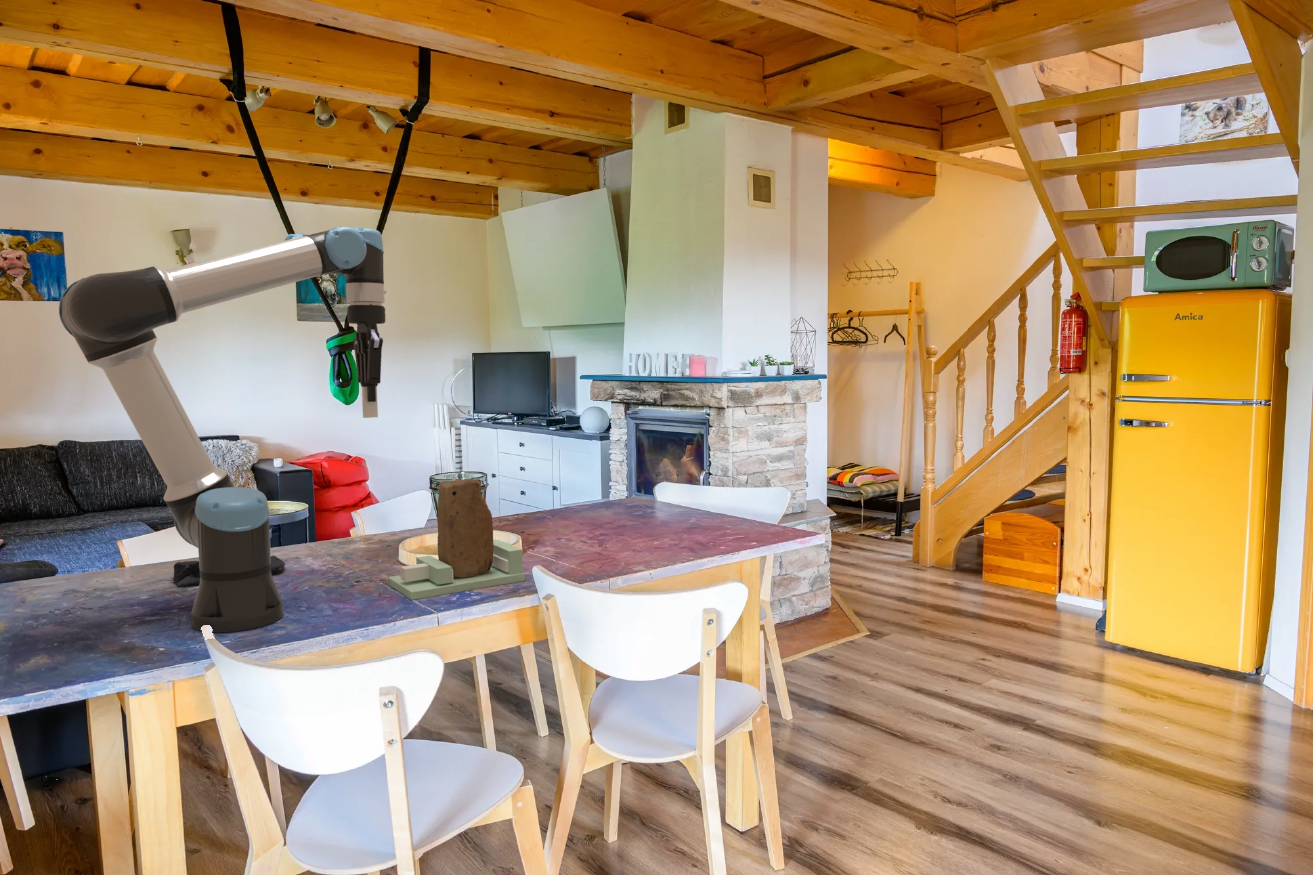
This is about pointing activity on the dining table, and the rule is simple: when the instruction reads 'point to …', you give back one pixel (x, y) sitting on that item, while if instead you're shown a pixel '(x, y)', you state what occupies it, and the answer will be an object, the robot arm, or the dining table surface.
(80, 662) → the dining table surface
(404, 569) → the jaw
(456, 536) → the block
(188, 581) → the dark slate chunk
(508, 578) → the vise
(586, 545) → the dining table surface
